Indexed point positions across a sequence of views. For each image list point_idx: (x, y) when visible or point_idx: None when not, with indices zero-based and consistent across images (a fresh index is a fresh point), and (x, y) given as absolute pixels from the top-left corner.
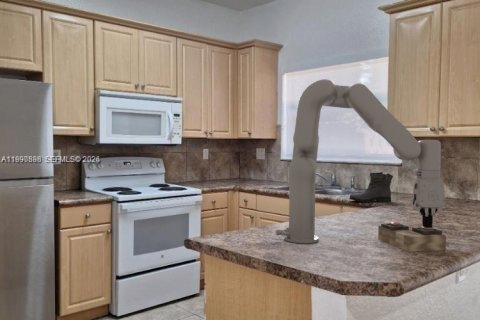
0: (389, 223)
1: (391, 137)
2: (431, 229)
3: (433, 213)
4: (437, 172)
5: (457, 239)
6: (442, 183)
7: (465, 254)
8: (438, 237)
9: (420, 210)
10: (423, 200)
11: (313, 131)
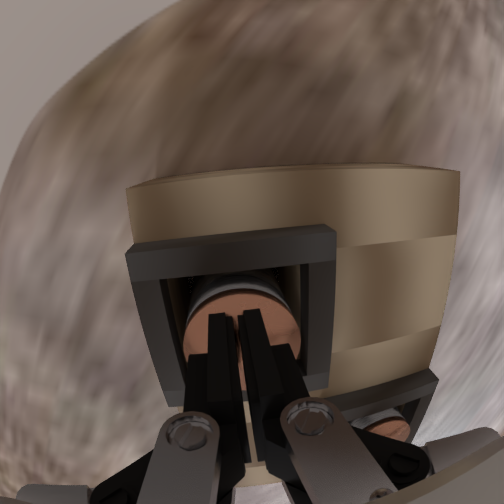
0: (405, 436)
1: None
2: (222, 292)
3: (175, 452)
4: None
5: (22, 388)
6: None
7: (99, 76)
8: (206, 176)
9: (422, 456)
10: None
11: None
